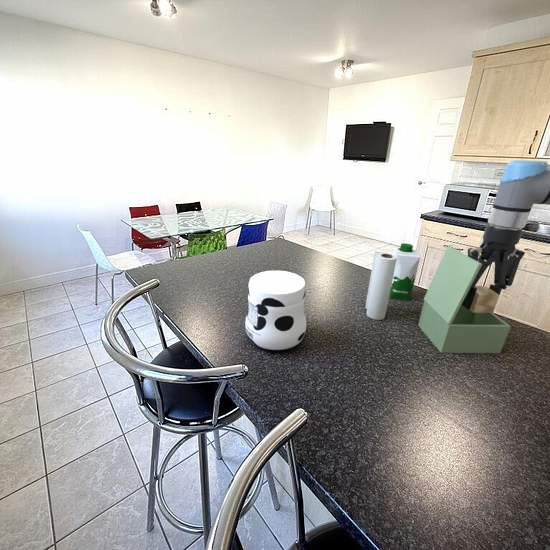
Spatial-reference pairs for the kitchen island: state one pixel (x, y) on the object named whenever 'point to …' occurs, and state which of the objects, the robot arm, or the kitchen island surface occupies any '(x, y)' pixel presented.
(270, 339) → the milk container
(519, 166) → the robot arm
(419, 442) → the kitchen island surface
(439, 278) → the lid
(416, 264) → the milk carton
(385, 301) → the paper towel roll
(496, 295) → the block
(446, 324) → the green hinged box
